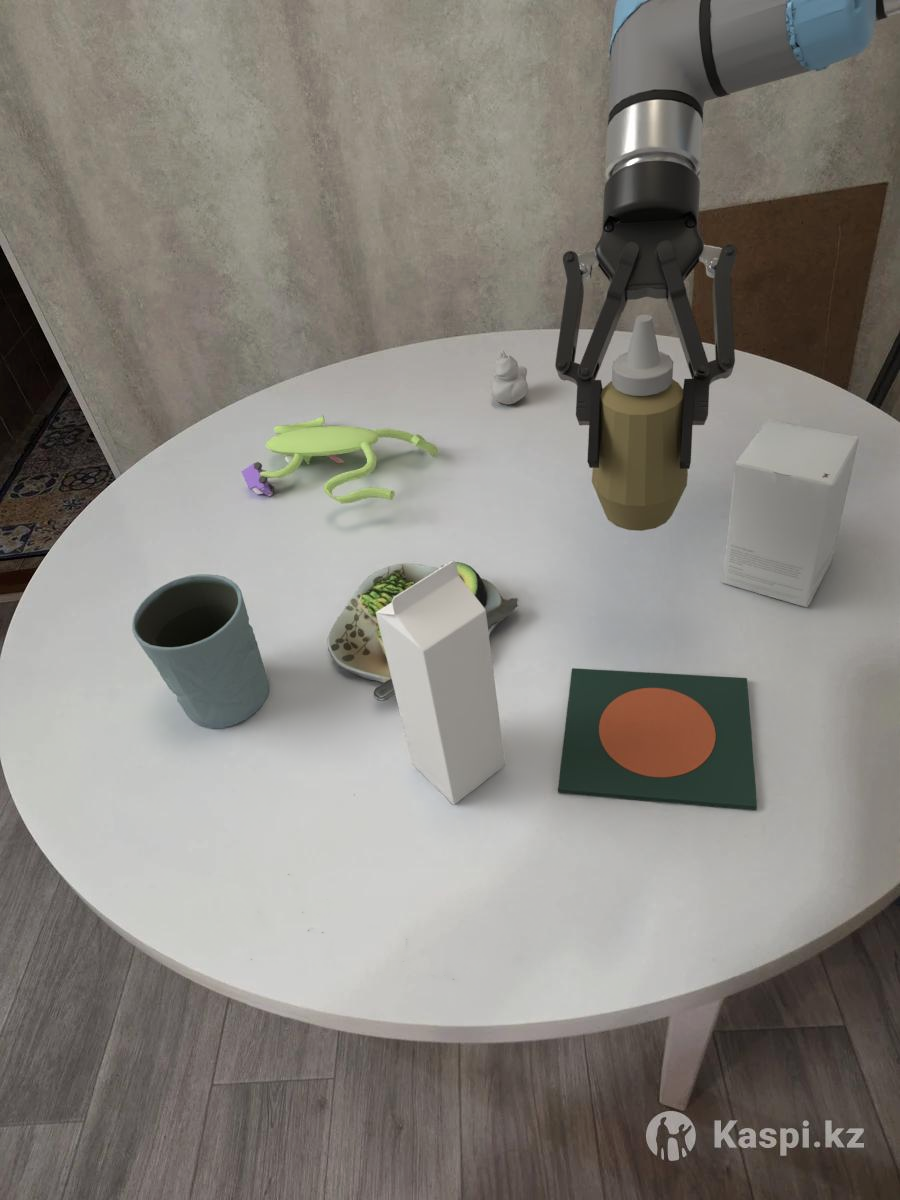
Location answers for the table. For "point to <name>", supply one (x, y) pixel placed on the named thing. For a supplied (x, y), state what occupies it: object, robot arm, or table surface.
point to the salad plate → (357, 626)
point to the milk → (444, 681)
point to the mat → (659, 738)
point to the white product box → (787, 510)
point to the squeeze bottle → (640, 436)
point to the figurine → (327, 455)
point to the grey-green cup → (204, 648)
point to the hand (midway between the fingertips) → (638, 464)
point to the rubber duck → (508, 380)
